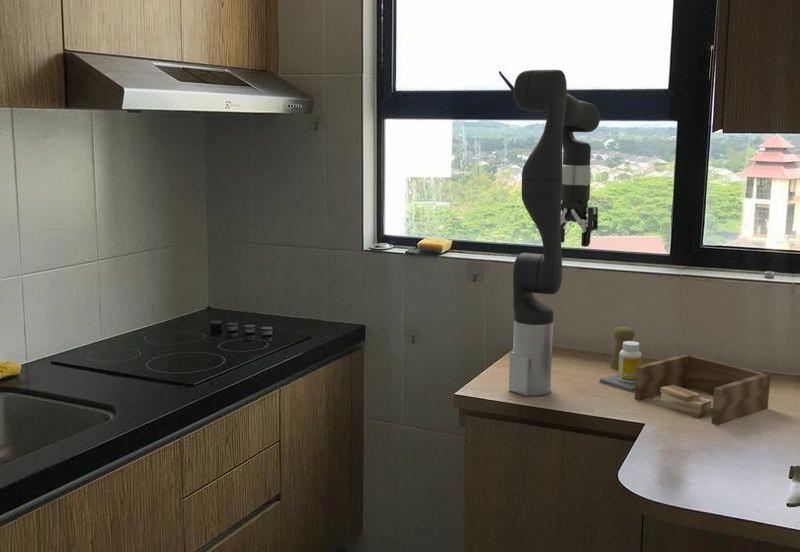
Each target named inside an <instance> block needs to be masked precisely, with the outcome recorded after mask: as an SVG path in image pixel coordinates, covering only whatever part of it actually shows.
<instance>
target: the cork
mask: <svg viewBox="0 0 800 552" xmlns="http://www.w3.org/2000/svg"><path fill="white" fill-rule="evenodd" d="M613 331H614V333H613V336H614V339H615V341H614V342H615V343H614V347H613V352H612V356H611V357H612V359H611V362H610V363H611V364H610V369H612V370H613V371H618V366H619V353H620V351H621V350H623V342H625V341H633V339H634V338H635V331H634V329H633V328H632V327H629V326H618V327H616V328H615V329H614V330H613Z"/></svg>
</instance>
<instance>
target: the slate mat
mask: <svg viewBox="0 0 800 552" xmlns="http://www.w3.org/2000/svg"><path fill="white" fill-rule="evenodd" d="M599 383H601V384H605V385H608V386H612V387H615V388H617V389H621V390H624V391H628V392H630V393H633V392H634V393H635V385H636V383H626V382H621V381H619V380H618V373H617V374H614V375H610V376H606V377H602V378H599Z"/></svg>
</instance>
